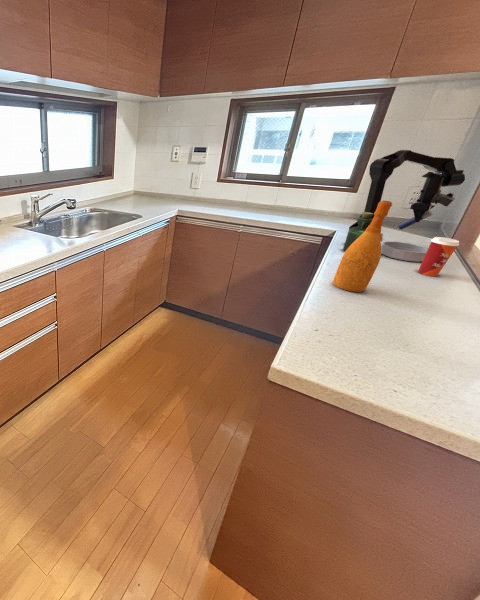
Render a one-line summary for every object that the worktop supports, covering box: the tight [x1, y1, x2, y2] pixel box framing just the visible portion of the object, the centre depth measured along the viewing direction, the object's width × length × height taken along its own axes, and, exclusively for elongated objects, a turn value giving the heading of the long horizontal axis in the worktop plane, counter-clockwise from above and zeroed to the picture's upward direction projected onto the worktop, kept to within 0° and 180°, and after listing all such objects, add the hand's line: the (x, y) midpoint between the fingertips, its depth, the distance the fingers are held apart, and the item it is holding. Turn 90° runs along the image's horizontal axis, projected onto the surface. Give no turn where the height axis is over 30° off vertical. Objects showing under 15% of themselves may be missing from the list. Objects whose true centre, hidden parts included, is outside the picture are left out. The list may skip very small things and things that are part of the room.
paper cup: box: [417, 236, 460, 277], centre depth 126 cm, size 8×8×14 cm
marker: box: [397, 209, 434, 230], centre depth 155 cm, size 3×3×12 cm
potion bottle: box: [342, 211, 373, 253], centre depth 147 cm, size 8×8×18 cm
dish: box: [381, 240, 428, 263], centre depth 146 cm, size 16×16×4 cm
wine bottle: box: [332, 200, 393, 293], centre depth 108 cm, size 10×10×30 cm
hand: (417, 221), depth 154 cm, fingers closed on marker, 3 cm apart
